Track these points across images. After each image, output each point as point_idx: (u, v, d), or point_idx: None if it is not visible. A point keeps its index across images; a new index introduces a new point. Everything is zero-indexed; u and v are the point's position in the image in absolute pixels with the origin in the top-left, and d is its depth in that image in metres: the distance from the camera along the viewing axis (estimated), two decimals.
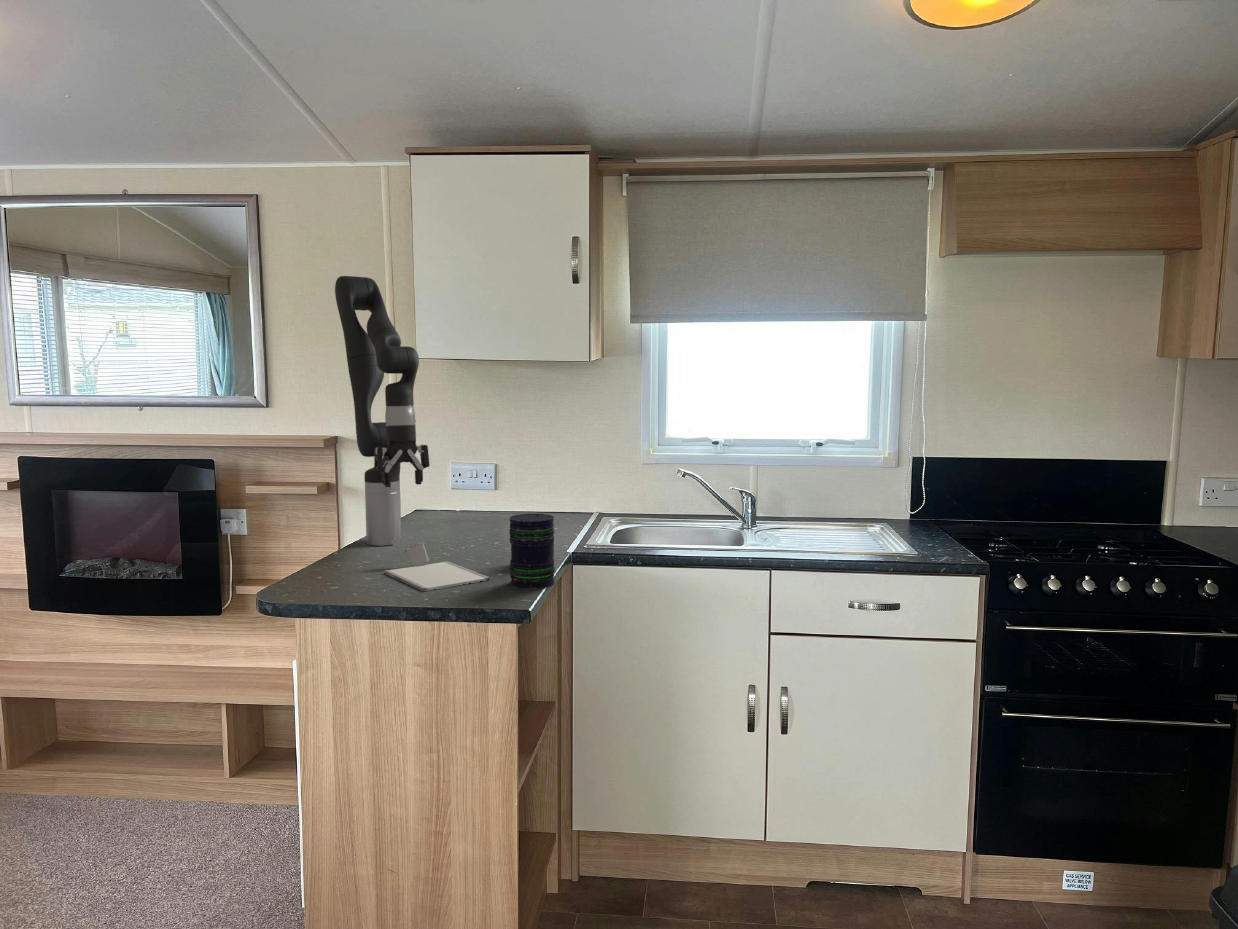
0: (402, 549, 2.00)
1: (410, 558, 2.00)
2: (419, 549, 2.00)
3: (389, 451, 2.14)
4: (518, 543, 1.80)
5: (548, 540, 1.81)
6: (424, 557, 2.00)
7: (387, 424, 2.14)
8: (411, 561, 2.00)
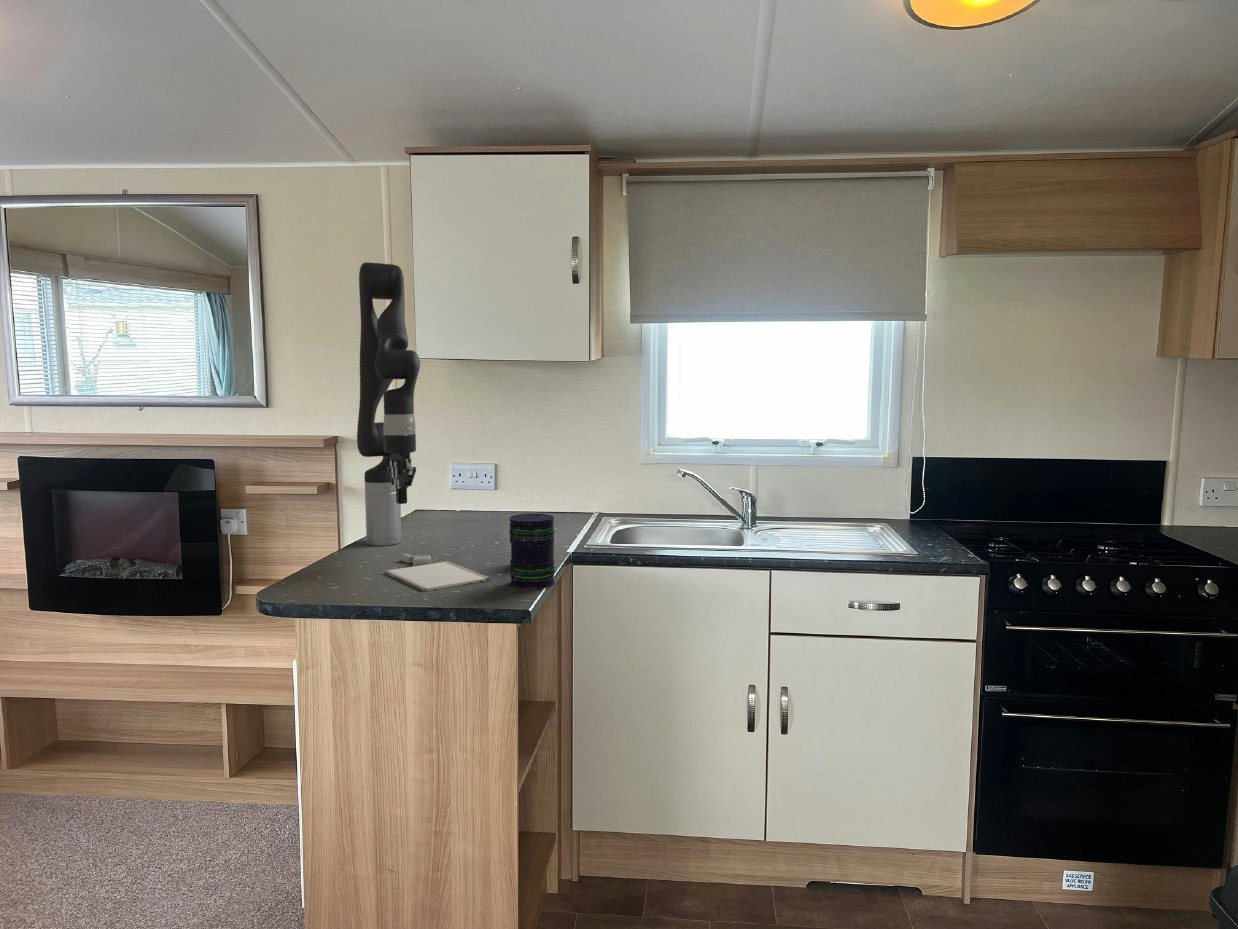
0: (410, 555, 2.06)
1: (414, 557, 2.03)
2: (425, 556, 2.05)
3: (410, 462, 2.01)
4: (518, 543, 1.80)
5: (548, 540, 1.81)
6: (427, 558, 2.03)
7: (407, 433, 2.00)
8: (414, 558, 2.02)
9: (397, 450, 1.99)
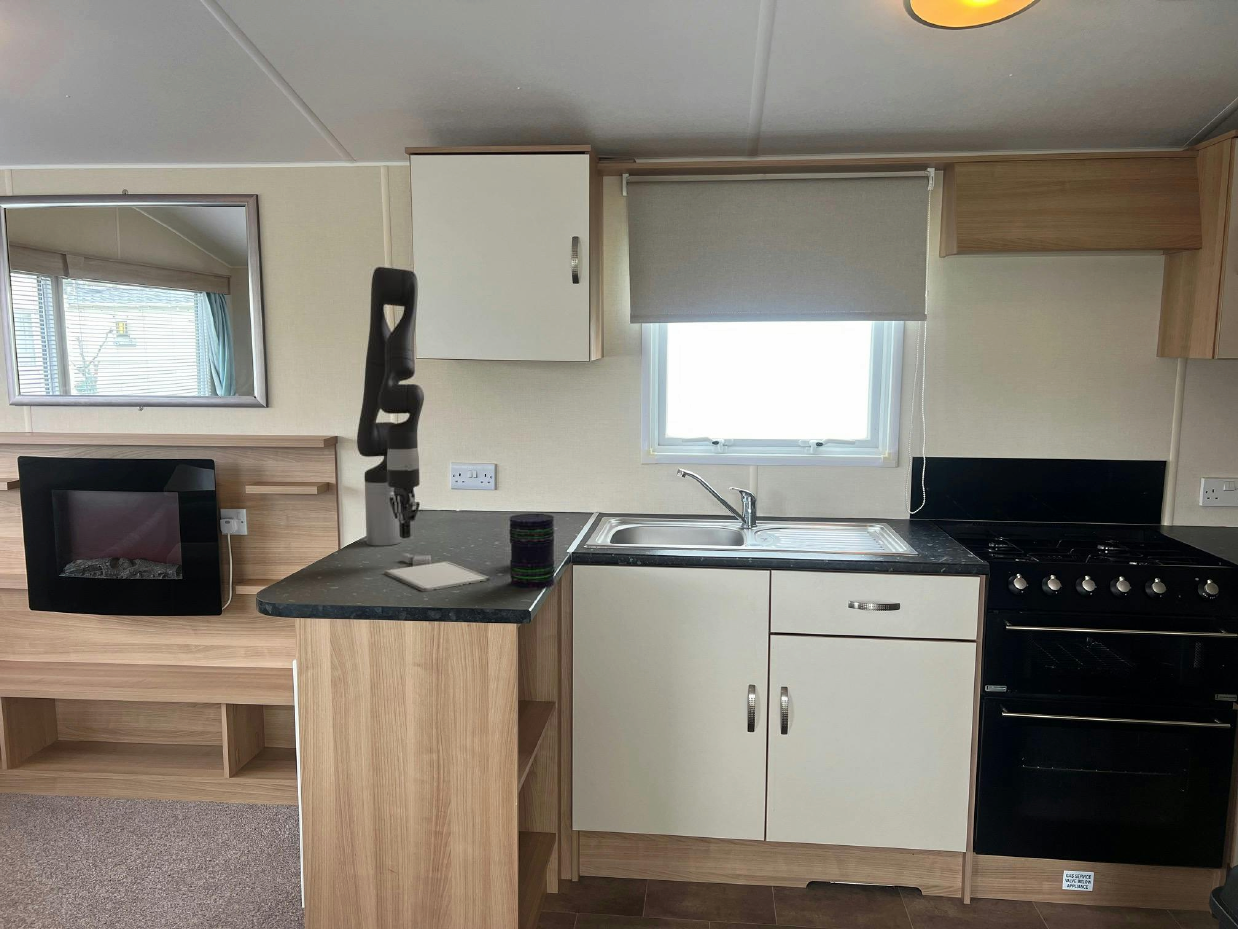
0: (410, 555, 2.06)
1: (414, 557, 2.03)
2: (425, 556, 2.05)
3: (414, 497, 2.00)
4: (518, 543, 1.80)
5: (548, 540, 1.81)
6: (427, 558, 2.03)
7: (411, 468, 1.99)
8: (414, 558, 2.02)
9: (401, 485, 1.98)
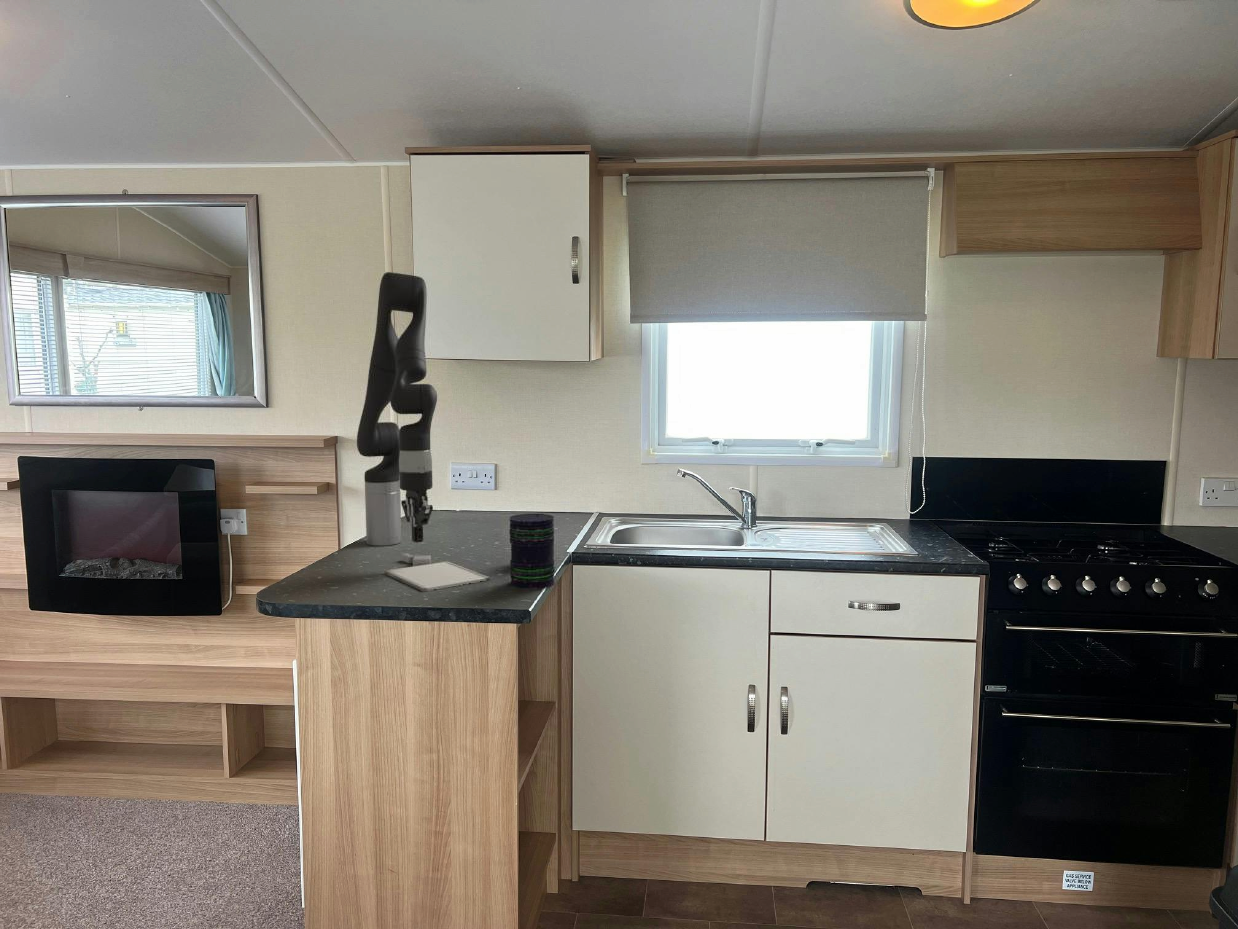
0: (410, 555, 2.06)
1: (414, 557, 2.03)
2: (425, 556, 2.05)
3: (427, 500, 1.94)
4: (518, 543, 1.80)
5: (548, 540, 1.81)
6: (427, 558, 2.03)
7: (423, 470, 1.93)
8: (414, 558, 2.02)
9: (413, 488, 1.93)
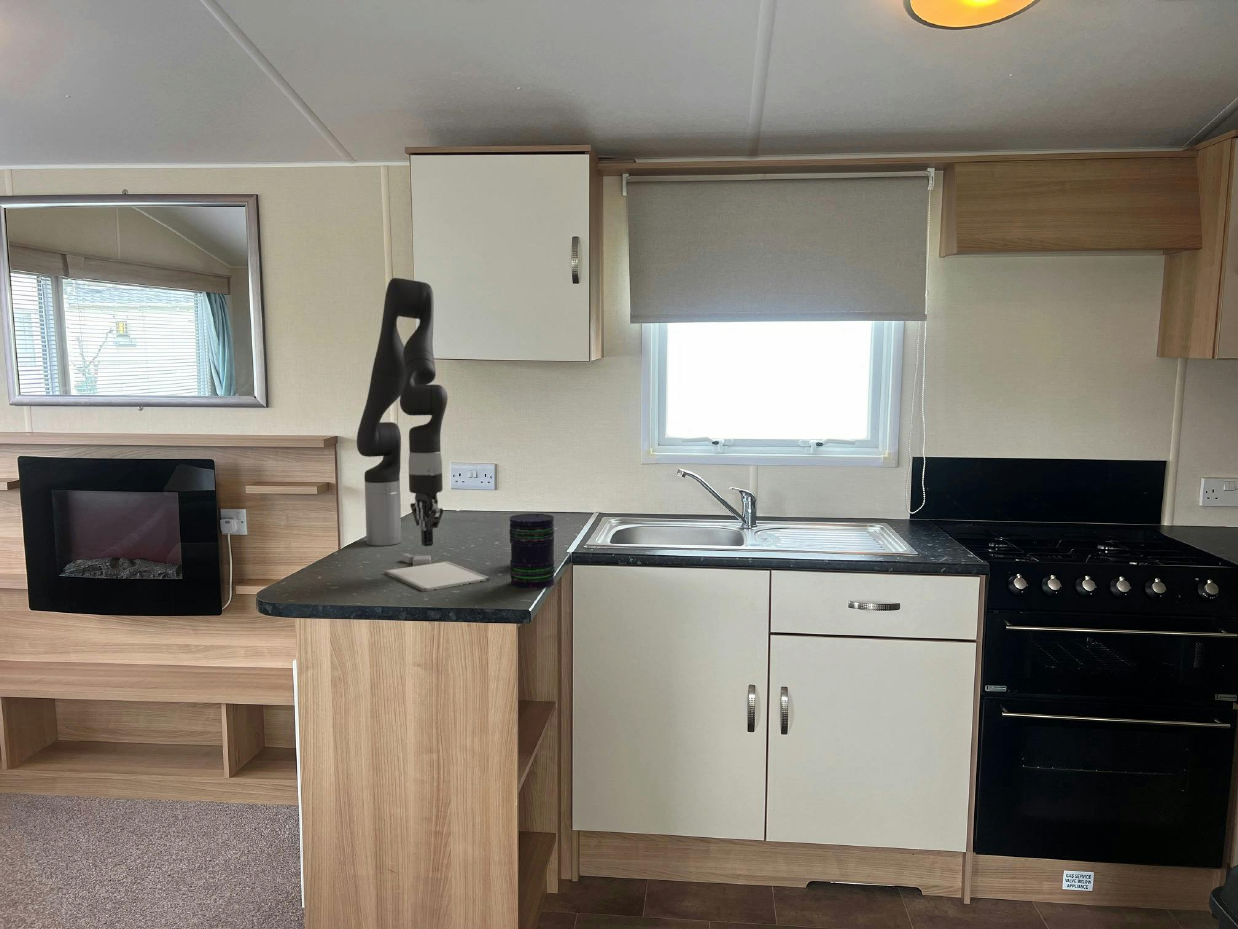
0: (410, 555, 2.06)
1: (414, 557, 2.03)
2: (425, 556, 2.05)
3: (437, 503, 1.90)
4: (518, 543, 1.80)
5: (548, 540, 1.81)
6: (427, 558, 2.03)
7: (434, 473, 1.89)
8: (414, 558, 2.02)
9: (423, 490, 1.89)
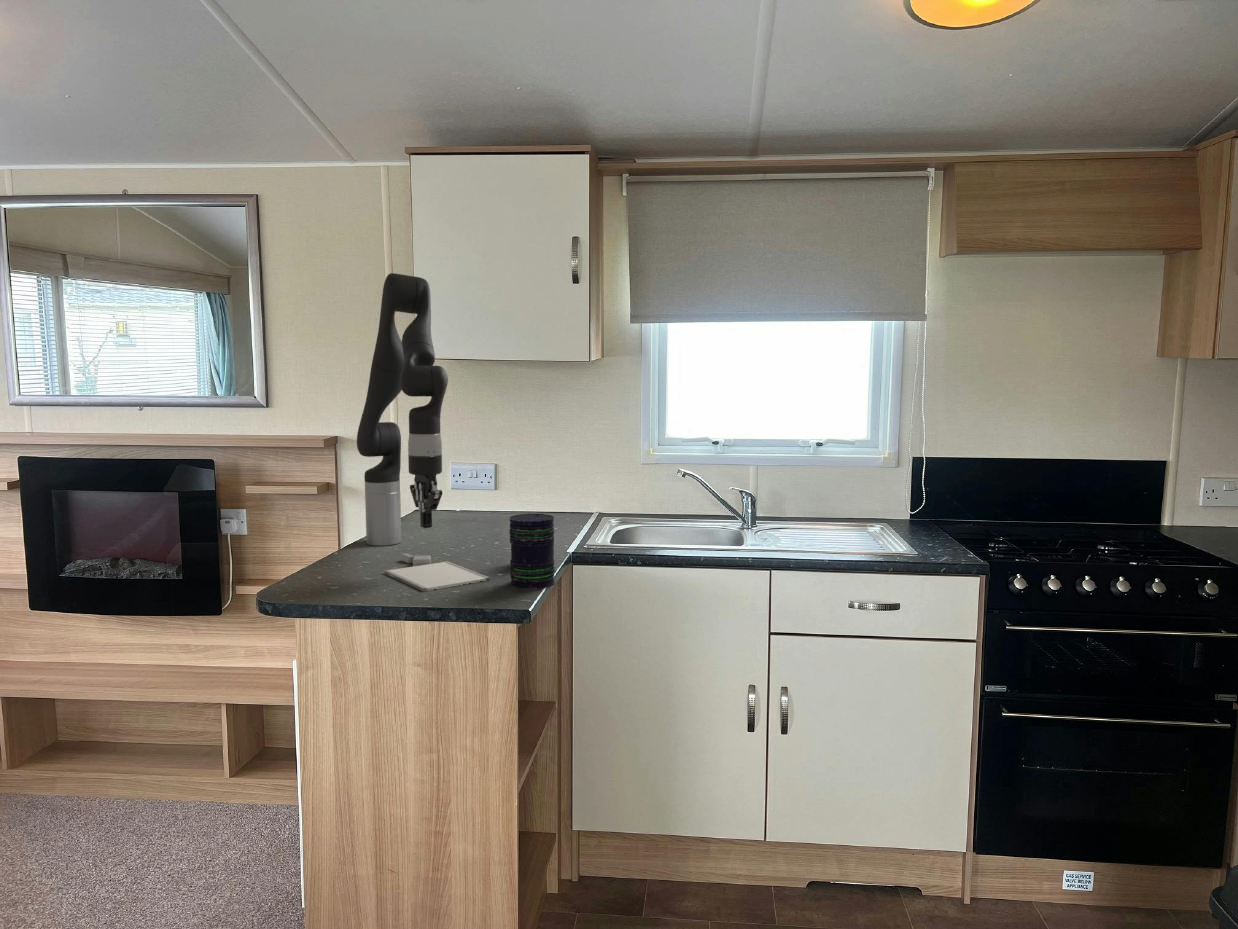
0: (410, 555, 2.06)
1: (414, 557, 2.03)
2: (425, 556, 2.05)
3: (436, 484, 1.90)
4: (518, 543, 1.80)
5: (548, 540, 1.81)
6: (427, 558, 2.03)
7: (433, 454, 1.88)
8: (414, 558, 2.02)
9: (422, 472, 1.88)
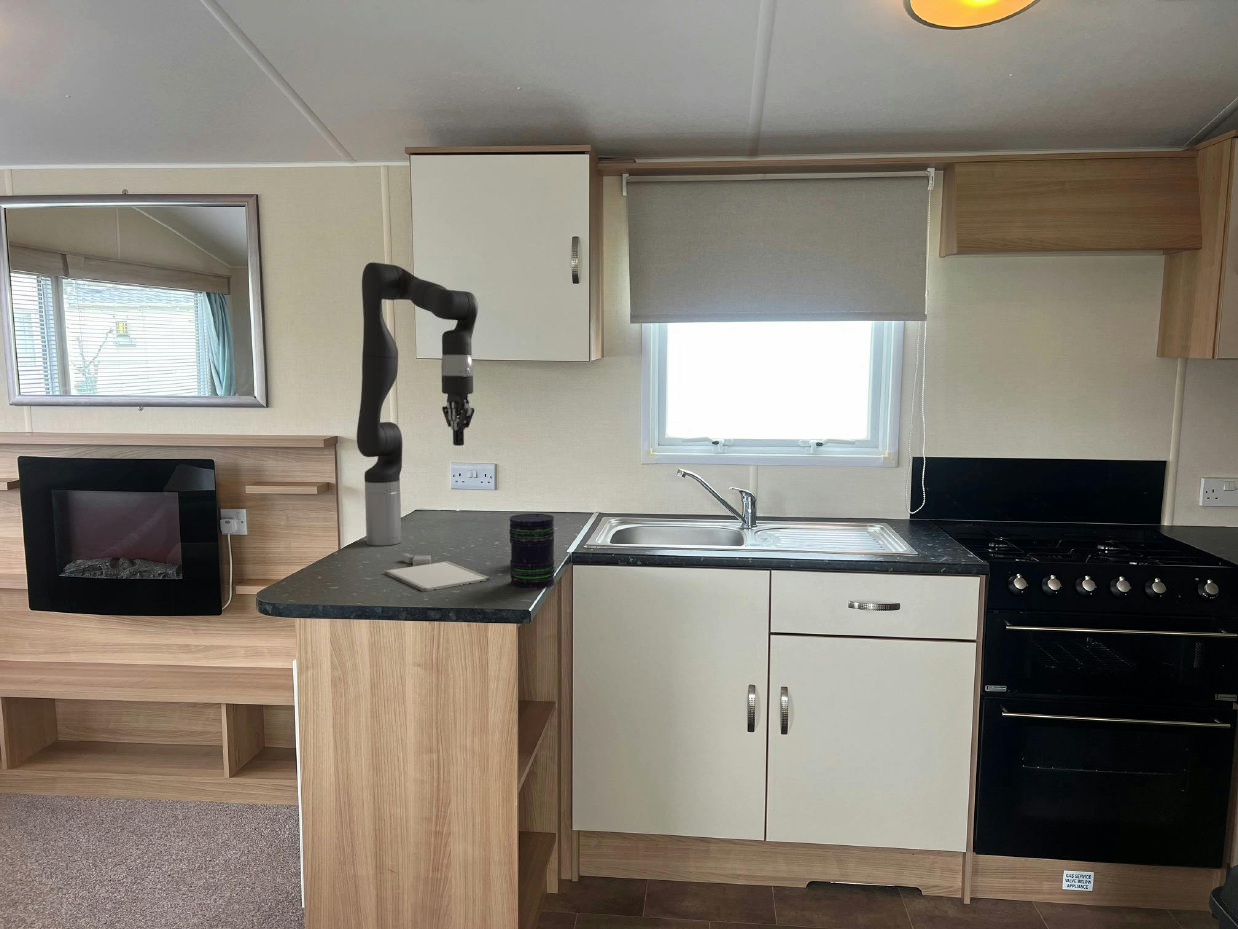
0: (410, 555, 2.06)
1: (414, 557, 2.03)
2: (425, 556, 2.05)
3: (468, 403, 2.01)
4: (518, 543, 1.80)
5: (548, 540, 1.81)
6: (427, 558, 2.03)
7: (465, 374, 1.99)
8: (414, 558, 2.02)
9: (455, 391, 1.99)
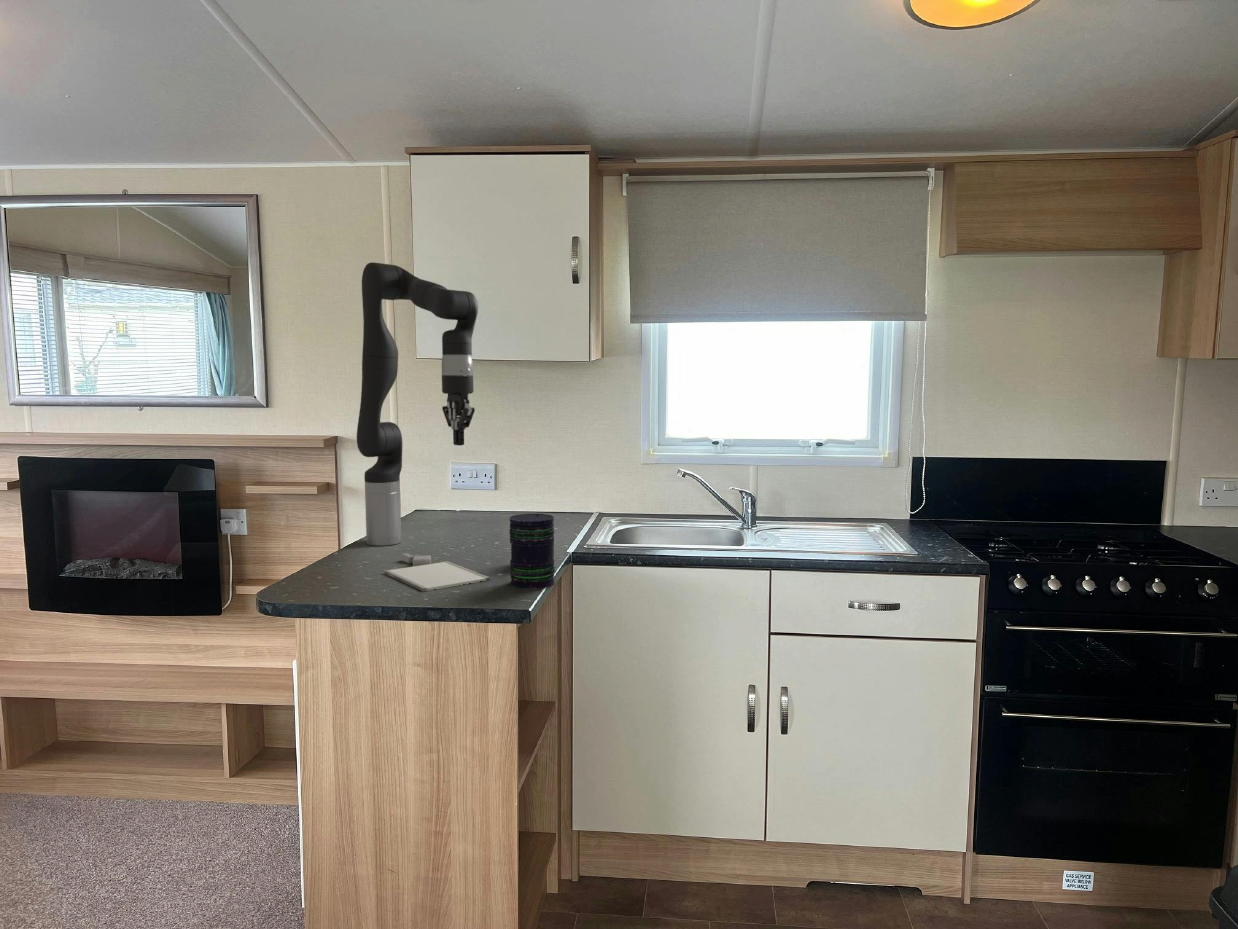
0: (410, 555, 2.06)
1: (414, 557, 2.03)
2: (425, 556, 2.05)
3: None
4: (518, 543, 1.80)
5: (548, 540, 1.81)
6: (427, 558, 2.03)
7: (466, 374, 2.00)
8: (414, 558, 2.02)
9: (456, 390, 1.99)
